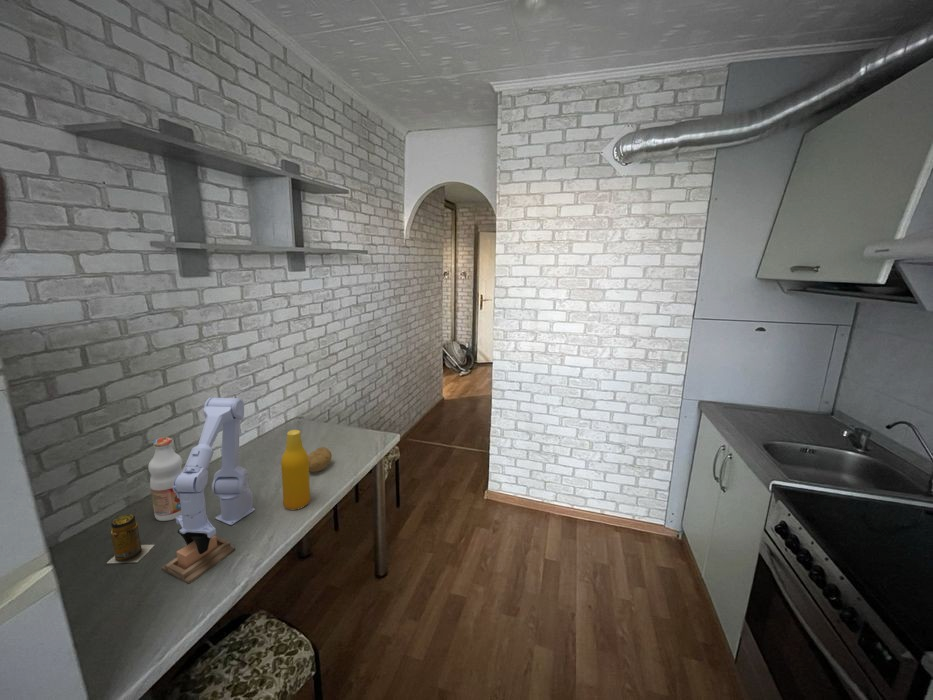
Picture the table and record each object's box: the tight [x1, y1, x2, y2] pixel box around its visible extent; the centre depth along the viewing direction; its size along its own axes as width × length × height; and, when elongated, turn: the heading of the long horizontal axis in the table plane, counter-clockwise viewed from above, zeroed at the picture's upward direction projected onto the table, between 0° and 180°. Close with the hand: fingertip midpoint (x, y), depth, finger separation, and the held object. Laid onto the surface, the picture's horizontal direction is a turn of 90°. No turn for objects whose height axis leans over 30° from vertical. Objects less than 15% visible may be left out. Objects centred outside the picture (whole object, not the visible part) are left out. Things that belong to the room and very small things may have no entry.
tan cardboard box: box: [175, 535, 217, 570], centre depth 113 cm, size 9×4×5 cm, turn 159°
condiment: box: [106, 514, 155, 564], centre depth 113 cm, size 7×8×12 cm
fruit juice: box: [147, 437, 183, 522], centre depth 130 cm, size 9×9×28 cm
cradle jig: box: [160, 534, 236, 585], centre depth 114 cm, size 14×12×2 cm
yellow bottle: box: [280, 429, 311, 510], centre depth 139 cm, size 9×9×29 cm
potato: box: [307, 446, 333, 473], centre depth 165 cm, size 10×14×8 cm
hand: (198, 549), depth 113 cm, fingers closed on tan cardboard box, 4 cm apart
